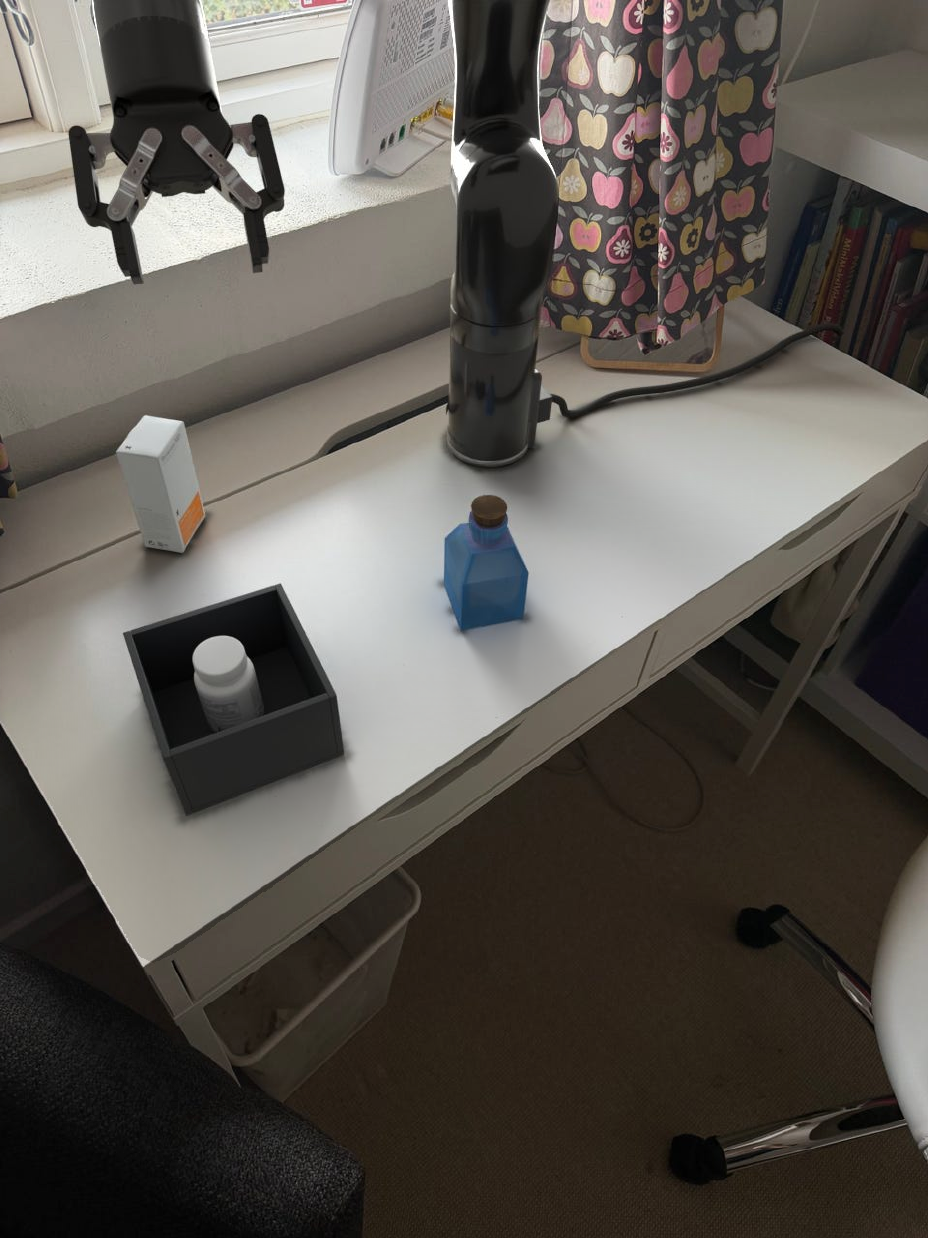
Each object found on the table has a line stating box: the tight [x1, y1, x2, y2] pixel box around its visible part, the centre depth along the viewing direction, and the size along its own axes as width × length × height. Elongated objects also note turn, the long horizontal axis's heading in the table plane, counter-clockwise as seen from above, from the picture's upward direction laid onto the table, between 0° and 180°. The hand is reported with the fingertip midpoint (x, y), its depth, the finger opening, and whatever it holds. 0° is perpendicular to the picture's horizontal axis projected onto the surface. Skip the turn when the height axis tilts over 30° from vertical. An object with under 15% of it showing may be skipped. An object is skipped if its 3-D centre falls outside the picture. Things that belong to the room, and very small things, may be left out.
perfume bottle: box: [443, 494, 530, 631], centre depth 81 cm, size 6×6×12 cm
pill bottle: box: [193, 636, 265, 734], centre depth 71 cm, size 5×5×8 cm
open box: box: [122, 583, 345, 816], centre depth 72 cm, size 13×13×8 cm
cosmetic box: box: [115, 414, 206, 554], centre depth 86 cm, size 6×4×12 cm
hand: (198, 274), depth 64 cm, fingers open, 8 cm apart
